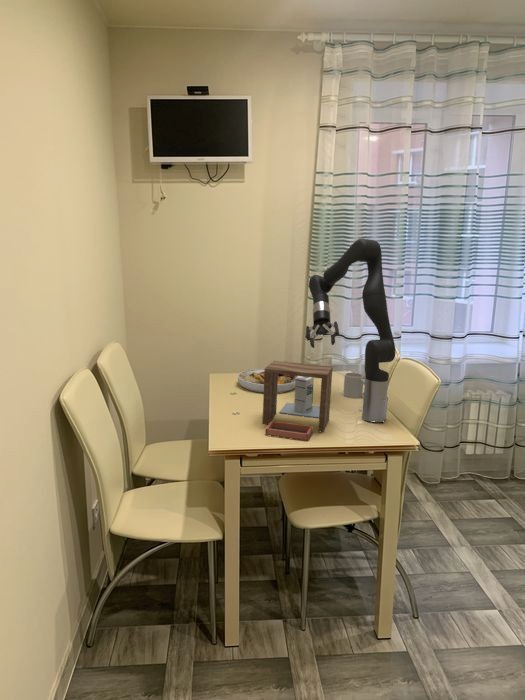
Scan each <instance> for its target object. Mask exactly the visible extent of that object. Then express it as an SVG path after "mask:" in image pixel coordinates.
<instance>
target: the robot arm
mask: <svg viewBox="0 0 525 700" xmlns="http://www.w3.org/2000/svg"><path fill="white" fill-rule="evenodd" d="M382 258H383V257H382V247H381V244H380V243H379V242H378V241H377V240H374V239H368V238H358V239H356V240H355V241H354V242H353V243H352V244H351V245H350V246H349V247H348V249H346V251H345V252H344V253H343V255H342V256H340V258H339V259H338V260H337V261H336V262H335V263H334V264H332V265H331V266H330V267H328V268H327V269H326V270H325V271H324V272H323V275H319V274H314V275H312V276H311V277H310V278H309V282H308V289H309V291H310V293H311V297H312V301H313V303H312V304H313V305H312V306H313V307H312V319H313V320H312V321H313V325H312V326H308V325H307V326H306V327H305V338H306V340H307V341H309V345H310V347H312V348H313V349H315V339H317V337H319V336H322V335H327V334H328V335H330V342H331V343H330V344H331V345H332V346H334V345H335V344H336V337H339V336H340V331H339V324H338V322H337V321H334V322H332V323H331V309H330V308H331V307H330V299H329V298H330V297H329V295H328V293H329V292H331V290H332V289H333V287H334V286H335V284H337V282H339V281H340V280H341V279H342V278H344V277H345V276H346V274H348V271H349V267H350V266H351V265H353V264H354V263H357V262H362V263H366V266H367V279H366V281H365V284H364V287H363V289H362V294H361V297H362V304H363V310H364V312H365V314H366V315H367V317H368V318H369V320H371V322H372V323H373V324H374V326H375V328H376V330H377V332H378V337H379V339H370V340H369V341H367V343H366V344H365V349H364V380H365V384H364V386H363V393H364V395H363V400H362V402H363V403H362V413H361V419H362V418H363V419H364V420H363V419H362V420H363V421H365V420H367V421H375V422H383V421H384V420H385V419H386V420H387V412H388V405H389V403H388V402H389V397H388V391H389V390H388V387H389V379H390V374H389V372H387V371H386V370H384V369H381V368H380V364H381V363H390V362H393V361H394V360H395V359H396V352H397V351H396V345H395V339H394V336H393V332H392V328H391V324H390V317H389V312H388V311H389V310H388V303H387V302H388V301H387V296H386V289H385V284H384V276H383V275H384V274H383V259H382ZM332 328H334V332H333V330H331V329H332ZM311 332H312V333H311ZM386 420H385V421H386ZM367 421H366V422H367ZM385 421H384V422H385ZM384 422H383V423H384Z"/></svg>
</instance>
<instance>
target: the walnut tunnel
mask: <svg viewBox="0 0 525 700" xmlns="http://www.w3.org/2000/svg"><path fill="white" fill-rule="evenodd" d="M333 368H334V367H333V366H330V365H321V364H320V365H319V364H309V363H301V362H291V361H279V360H273V361H271V362H270V363H269V364H268V365H267V366H266V367H264V369H265V371H264V393H263V402H262V404H263V405H262V424H265V425H264V426H268V425H269V424H270V423H269V422H271V421H273V419H274V417H275V416H276V415H277V406H278V405H277V403H278V400H277V399H278V393H277V383H278V374H284V375H294V376H298V377H300V376H303V377H313V378H315V379H321V380H320V381H321V382H320V384H321V385H320V397H319V399H320V401H319V406H320V413H319V419H318V430H317V431H321V432H320V433H323V432H325V430H326V428H327V426H328V424H329V422H330V412H331V397H332V396H331V395H332V380H333V379H332V378H333ZM328 421H329V422H328Z"/></svg>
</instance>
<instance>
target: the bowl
mask: <svg viewBox="0 0 525 700" xmlns="http://www.w3.org/2000/svg"><path fill="white" fill-rule="evenodd" d="M264 371H265V368H257V369H256V368H255V369H247V370H243V371H241V372H239V373H238V374H237V380H238V381H237V382H238V383H239V385H240V386H241V387H243V388H244V389H245V390H248V391H252V392H255V393H262V394H264ZM297 377H299V376H294V375H284V374H278V383H277V394H279V393H280V392H281V393H285V392H290V391H292V390H293V389H294V390H295V378H297Z"/></svg>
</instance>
